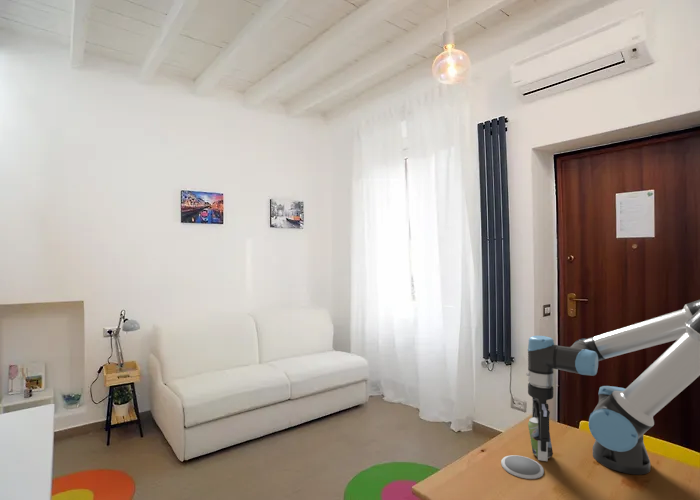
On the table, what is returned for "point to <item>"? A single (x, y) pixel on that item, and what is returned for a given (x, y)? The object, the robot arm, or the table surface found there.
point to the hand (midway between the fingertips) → (540, 454)
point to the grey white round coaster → (522, 467)
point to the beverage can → (535, 434)
